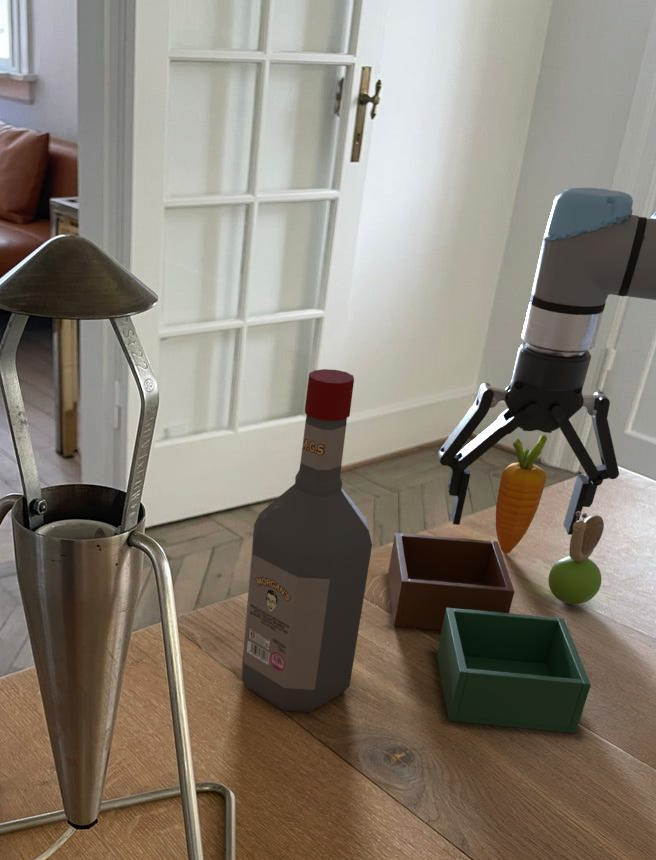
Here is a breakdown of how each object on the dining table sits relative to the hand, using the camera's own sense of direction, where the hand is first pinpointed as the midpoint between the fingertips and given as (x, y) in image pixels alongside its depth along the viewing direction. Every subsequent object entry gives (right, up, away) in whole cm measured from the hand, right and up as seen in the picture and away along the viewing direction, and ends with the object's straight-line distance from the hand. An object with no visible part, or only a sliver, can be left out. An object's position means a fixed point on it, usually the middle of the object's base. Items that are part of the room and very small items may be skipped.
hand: (511, 525), depth 116 cm
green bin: (-9, -19, -23) cm, 31 cm away
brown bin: (-11, -10, -9) cm, 17 cm away
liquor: (-29, -18, -22) cm, 41 cm away
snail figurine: (+4, -10, -8) cm, 13 cm away
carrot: (0, -3, +2) cm, 4 cm away
